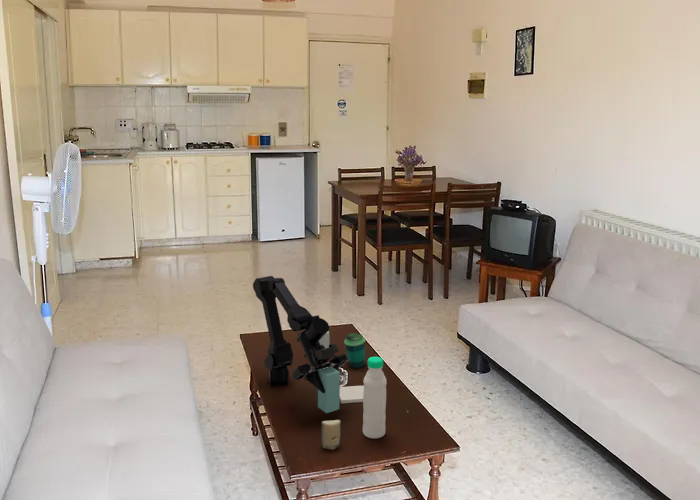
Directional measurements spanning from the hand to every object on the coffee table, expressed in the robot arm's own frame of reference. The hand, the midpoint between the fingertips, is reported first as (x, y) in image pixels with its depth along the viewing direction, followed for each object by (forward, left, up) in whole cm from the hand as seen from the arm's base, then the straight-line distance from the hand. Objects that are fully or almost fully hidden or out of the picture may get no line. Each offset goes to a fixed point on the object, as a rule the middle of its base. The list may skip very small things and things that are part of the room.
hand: (331, 390), depth 205 cm
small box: (+2, +51, -10) cm, 52 cm away
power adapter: (-2, -16, -10) cm, 19 cm away
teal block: (-1, +1, -7) cm, 7 cm away
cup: (+15, +40, -10) cm, 44 cm away
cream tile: (+10, +15, -10) cm, 21 cm away
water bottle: (+12, -11, -10) cm, 19 cm away
